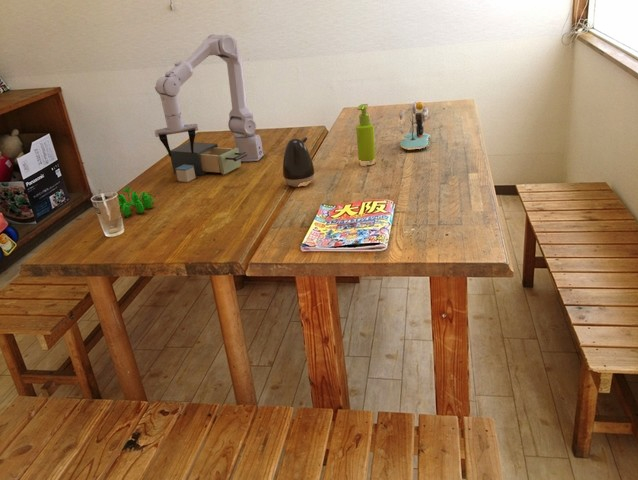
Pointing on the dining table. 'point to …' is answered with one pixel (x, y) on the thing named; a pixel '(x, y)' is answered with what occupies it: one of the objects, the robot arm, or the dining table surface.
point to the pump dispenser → (297, 163)
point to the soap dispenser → (365, 136)
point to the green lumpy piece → (135, 202)
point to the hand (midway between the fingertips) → (181, 154)
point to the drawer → (221, 159)
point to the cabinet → (190, 156)
